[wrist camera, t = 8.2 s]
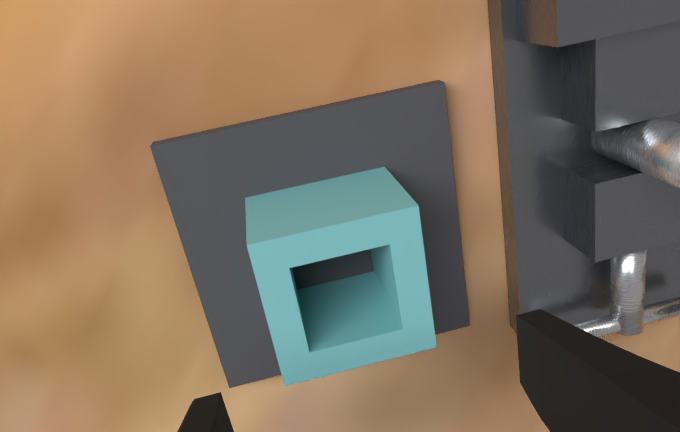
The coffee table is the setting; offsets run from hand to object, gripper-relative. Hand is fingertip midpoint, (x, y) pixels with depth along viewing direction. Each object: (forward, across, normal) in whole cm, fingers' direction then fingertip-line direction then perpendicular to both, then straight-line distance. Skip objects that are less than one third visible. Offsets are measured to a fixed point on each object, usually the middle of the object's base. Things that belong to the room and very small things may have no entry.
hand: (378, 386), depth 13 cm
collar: (+8, 0, 0) cm, 8 cm away
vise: (+8, -11, -2) cm, 14 cm away
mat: (+8, 0, 0) cm, 9 cm away
